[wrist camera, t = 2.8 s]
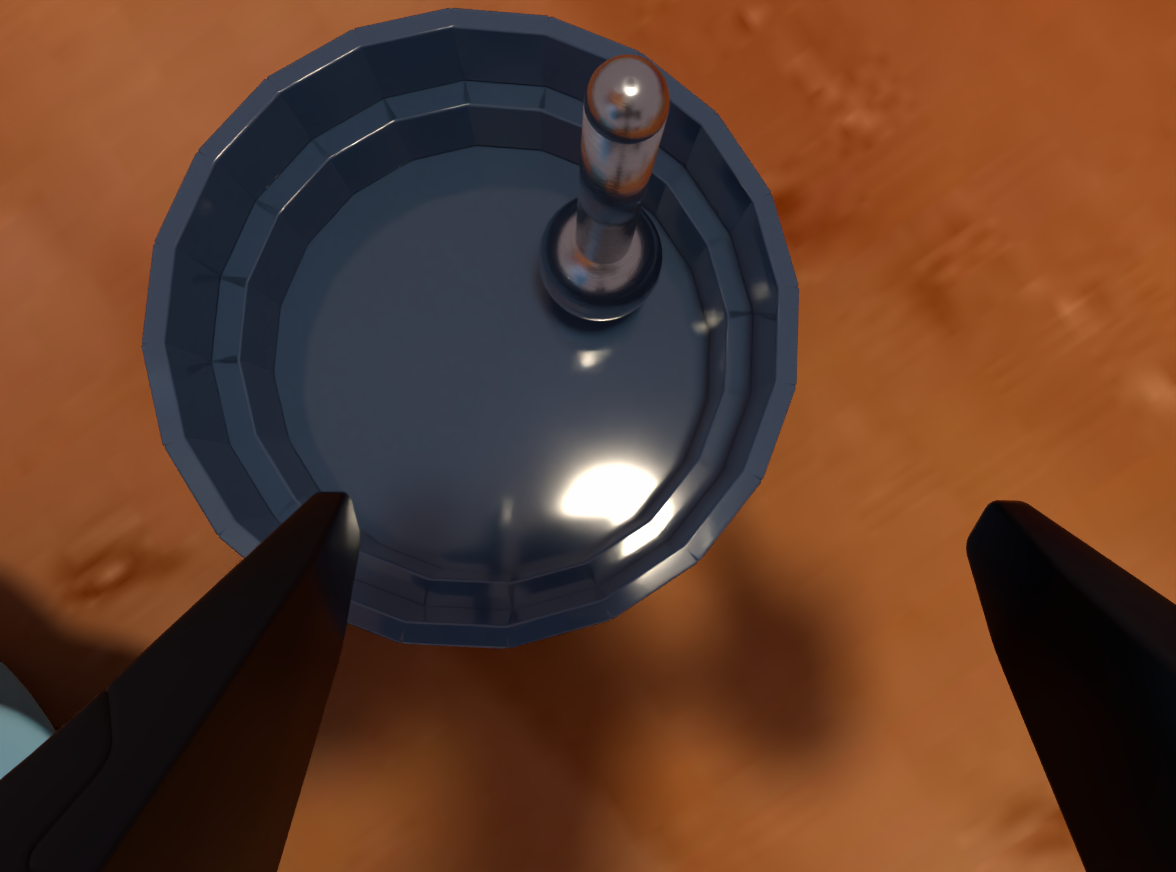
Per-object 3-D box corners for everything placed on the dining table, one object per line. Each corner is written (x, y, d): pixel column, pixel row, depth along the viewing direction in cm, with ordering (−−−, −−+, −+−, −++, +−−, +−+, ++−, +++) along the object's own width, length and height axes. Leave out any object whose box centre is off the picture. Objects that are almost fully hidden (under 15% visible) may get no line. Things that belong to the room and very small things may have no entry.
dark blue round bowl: (413, 715, 23) (366, 784, 17) (146, 279, 23) (21, 213, 18) (839, 433, 24) (922, 413, 19) (572, 33, 25) (575, -98, 19)
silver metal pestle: (584, 356, 23) (607, 223, 12) (516, 264, 23) (478, 51, 12) (676, 291, 23) (781, 103, 12) (608, 201, 23) (653, -64, 12)
